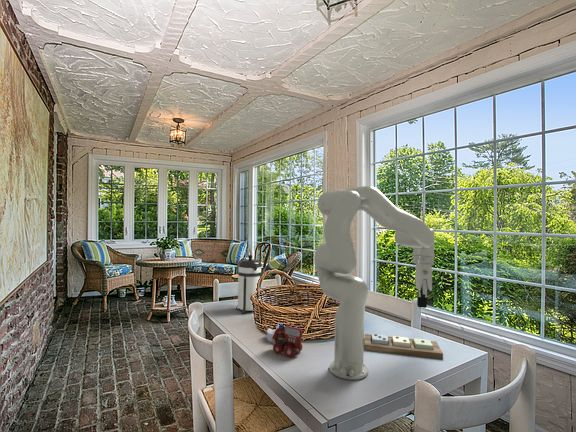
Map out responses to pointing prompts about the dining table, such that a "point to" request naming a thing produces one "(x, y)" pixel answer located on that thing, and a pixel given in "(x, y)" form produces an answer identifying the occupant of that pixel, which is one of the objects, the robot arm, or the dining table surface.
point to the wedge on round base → (271, 333)
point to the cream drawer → (400, 341)
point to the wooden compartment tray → (403, 348)
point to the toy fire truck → (287, 340)
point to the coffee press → (247, 282)
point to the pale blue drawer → (380, 339)
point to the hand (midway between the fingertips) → (421, 306)
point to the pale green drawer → (422, 344)
